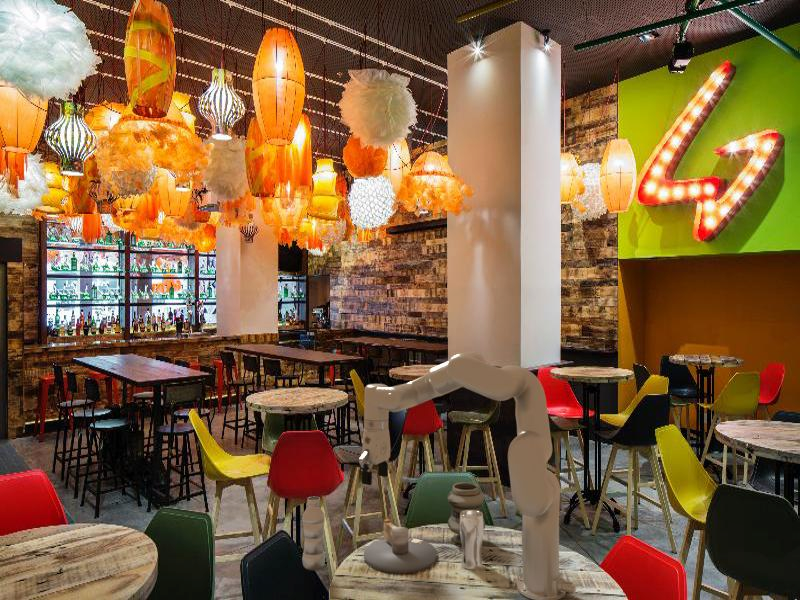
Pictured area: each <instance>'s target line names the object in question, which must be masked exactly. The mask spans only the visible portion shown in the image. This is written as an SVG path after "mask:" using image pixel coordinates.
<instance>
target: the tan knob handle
mask: <svg viewBox="0 0 800 600" xmlns="http://www.w3.org/2000/svg"><path fill="white" fill-rule="evenodd" d="M383 538H384V539H386V540H387V541H389V542H390V543H391V544H392V552H393V553H395V554H405V553H407V552H408V551H409V542H408V538H409V529H408V527H405V526H397V525H394V524H393V523H392V522H391V520H390V519H389V518H385V519H383Z"/></svg>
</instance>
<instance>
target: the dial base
mask: <svg viewBox="0 0 800 600" xmlns="http://www.w3.org/2000/svg"><path fill="white" fill-rule="evenodd" d="M408 542H409V551H408V552H407V553H405V554H395V553H393V552H392V544H391V543H390V542H389V541H387V540H386V539H385V538H384V539H380V540H376V541H374V542H372V543H370V544H369V545H367V546H366V547H365V548H364V551H363V560H364V559H365V560H364V562H365V561H366V562H365V563H366V565H368V566H369V567H370V566H371V569H372V568H373V569H374V570H377V571H379V572H380V571H381V572H385V573H391V574H409V573H414V572H415V573H417V572H420V571H423V570H425V569H428V568H430V567H431V566H433V565H435V563H436V561H437V559H438V557H437V556H438V555H437V549H436V547H435V546H433V545H432V544H431V543H429V542H427V541H425V540H424V539H423V540H421V539H417V538H414V537H413V538H411V537H408Z"/></svg>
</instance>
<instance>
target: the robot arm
mask: <svg viewBox="0 0 800 600" xmlns="http://www.w3.org/2000/svg"><path fill="white" fill-rule="evenodd" d="M460 388H465V389H467V390H470V391H471V392H474V393H475V394H479V395H481V396H484V397H485V398H488V399H491V400H494V401H499V402H500V401H501V402H503V401H507V400H510V399H512V398H513V399H514V401H515V421H516V434H517V436H515V437H514V438H513V440H512V441H511V442H510V444H509V447H508V451H507V462H508V464H507V466H508V473H509V480H510V491H511V497H512V500H513V504H514V506H515V507H516V508H517V510H518V511H519V512H520V514H522V516H521V519H522V520H521V521H522V522H521V527H522V528H521V530H522V531H521V538H522V539H521V543H522V544H521V545H522V547H521V548H522V552H521V553H522V555H521V556H522V559H521V560H522V577H520V578H519V579H518V580H517V582H516V590H517V591H518V593H519V594H521V595H522V596H524V597H526V598H528V599H531V600H562V599H563V598H564V597H566V593H569V594H573V595H575V594H576V591H577V587H576V585H575V584H574V581H572V580H566V579H565V578H564V573H563V572H560V503H561V486H560V482H559V480H558V478H557V476H556V475H555V474H554V473H553V472H552V471H551V470H549V469H547V464H546V463H547V462H548V461H549V460H550V458H551V457H552V454H553V443H552V437H551V429H550V421H549V413H548V406H547V405H548V404H547V398H546V394H545V390H544V387H543V385H542V383H541V381H540V379H539V378H538V377H537V376H536V375H535V374H534V373H533V372H532V371H530V370H529V369H526V368H524V367H522V366H519V365H506V366H502V367H497V366H496V365H495V366H494V365H492V364H489V363H487V361H486V359H485V357H484V356H483V355H482V354H480V353H479V352H476V351H466V352H465V351H464V352H460V353H457V354H455V355H453V356H452V357H451V358H450V359H448V360H447V361H445V362H443V363H440V364H438V365H437V364H436V366H433V367H431V368H429V369H428V372H427V373H425V375H422V376H420V377H418V378H416V379H414V380H411V381H409V382H406V383H403V384H397V385H394V386H388V385H386V384H385V383H369V384H367V385H366V386H365V388H364V409H363V411H364V412H363V413H364V414H363V415H364V416H363V431H364V432H363V437H362V448H361V449H362V451H361V455H360V457H359V459H358V463H359V467H360V471H361V484H362V485H367V486H372V483H373V471H372V468H373V466H374V465H378V467H377V469H378V471H377V474H378V477H384V478H387V477H388V475H389V463H390V460H389V459H390V458H391V450H392V448H391V437H390V430H389V415H390V414H389V412H392V413H397V412H401V411H405V410H407V409H410V408H411V409H412V408H413V407H416V406H418V405H420V404H423V403H425V402H427V401H430V400H432V399H434V398H438V397H442V396H444V395H446V394H449V393H451V392H453V391H456V390H459V389H460Z"/></svg>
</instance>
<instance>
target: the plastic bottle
mask: <svg viewBox="0 0 800 600" xmlns="http://www.w3.org/2000/svg"><path fill="white" fill-rule="evenodd" d="M306 499H307V502H306V506H307V508H305V510H304V512H303V513H302V516H301V518H302V525H303V536H304V537H303V538H304V539H303V540H304V543H303V551H302V552H303V553H302V557H301V558H302V559H301V560H302V565H303V568H304V569H306V570H307V571H318V570H321V569H323V567H324V566H325V564H326V563H325V562H326V555H325V550H324V549H325V548H324V527H325V517H326V516H325V512H324V511H323V509H322V508H321V507H320V506H321V498H320V496H309V497H307V498H306Z"/></svg>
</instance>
